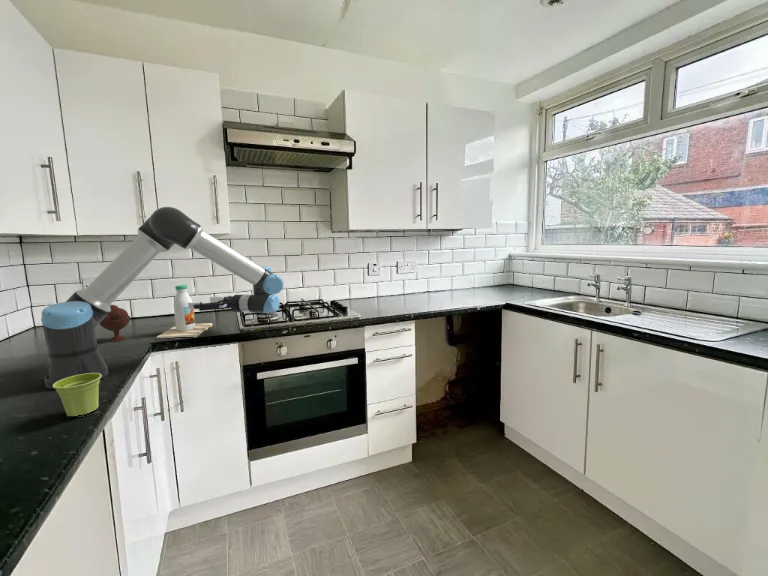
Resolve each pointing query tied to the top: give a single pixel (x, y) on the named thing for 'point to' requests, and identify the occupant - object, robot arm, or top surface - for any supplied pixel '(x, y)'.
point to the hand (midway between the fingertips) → (200, 302)
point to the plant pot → (79, 393)
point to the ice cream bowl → (115, 322)
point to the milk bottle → (183, 310)
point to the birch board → (191, 333)
